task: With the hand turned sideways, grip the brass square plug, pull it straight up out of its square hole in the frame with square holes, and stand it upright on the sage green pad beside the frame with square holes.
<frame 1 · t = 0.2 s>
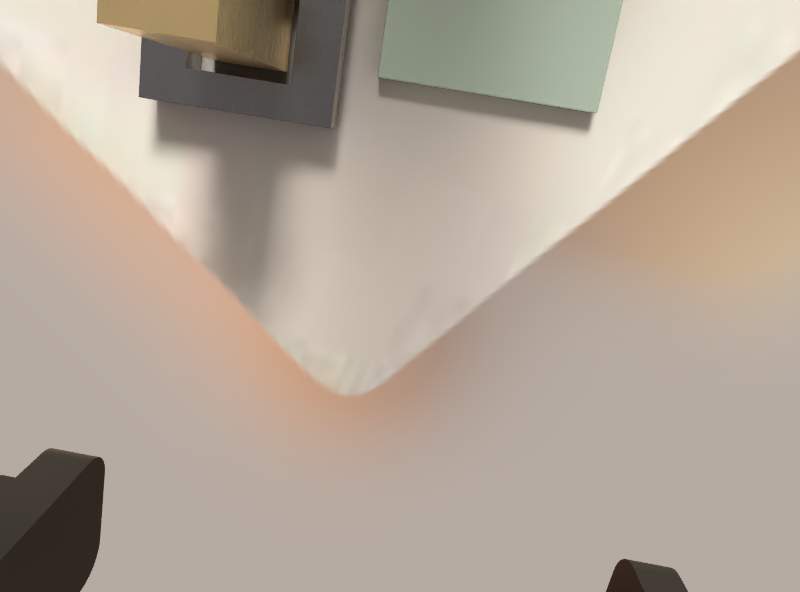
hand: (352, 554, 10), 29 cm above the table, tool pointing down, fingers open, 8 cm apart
plug: (254, 27, 35), resting in frame with square holes
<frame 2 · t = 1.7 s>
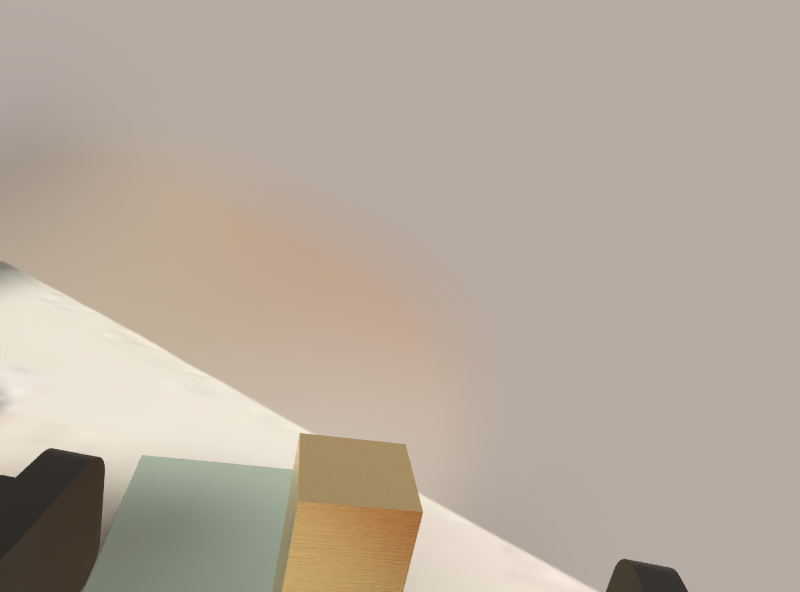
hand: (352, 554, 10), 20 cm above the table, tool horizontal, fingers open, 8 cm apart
pad: (223, 537, 38), on the table
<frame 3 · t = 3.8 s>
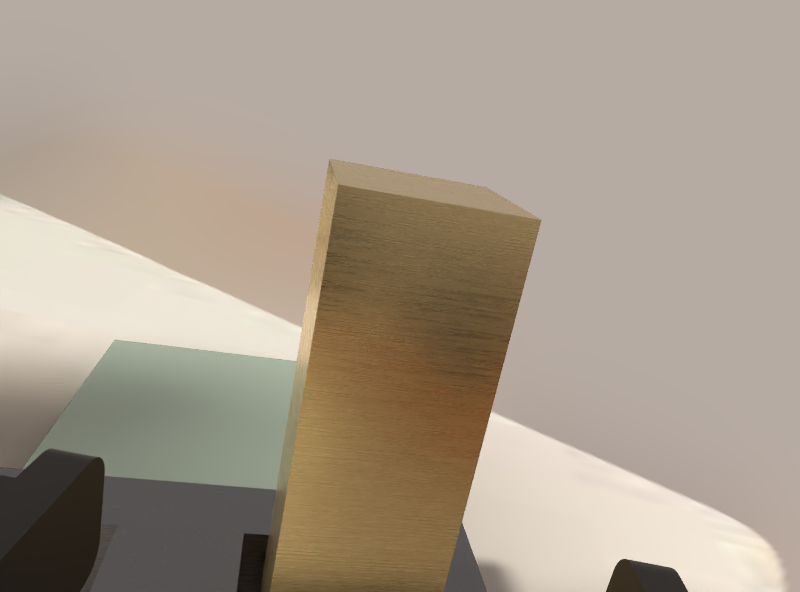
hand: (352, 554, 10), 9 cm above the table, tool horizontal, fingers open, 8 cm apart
pad: (216, 426, 29), on the table
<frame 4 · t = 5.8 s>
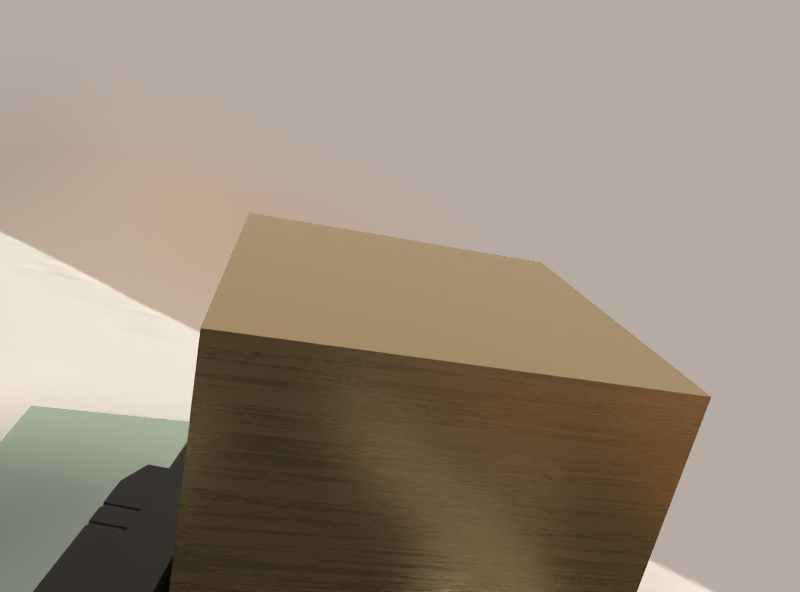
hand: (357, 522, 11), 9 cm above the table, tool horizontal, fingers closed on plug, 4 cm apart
pad: (149, 534, 22), on the table
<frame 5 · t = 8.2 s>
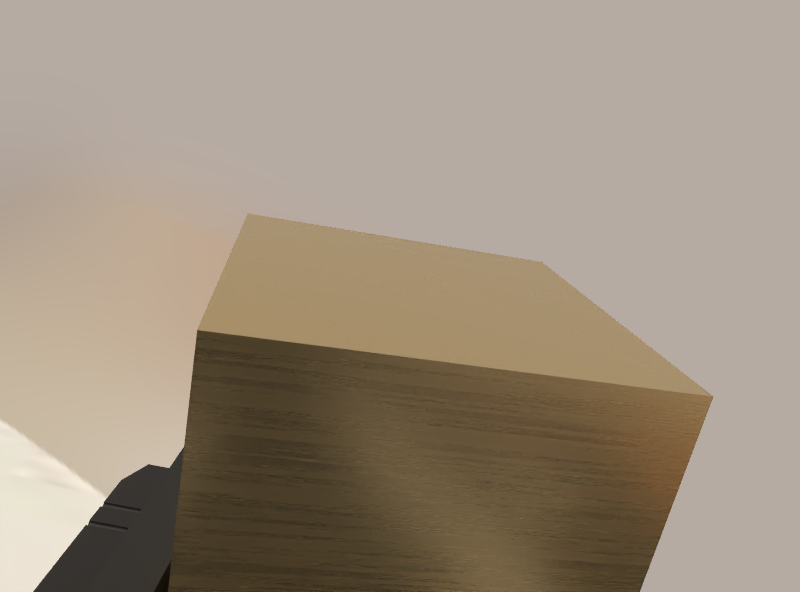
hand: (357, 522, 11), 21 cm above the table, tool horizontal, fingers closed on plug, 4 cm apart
when the fingers open (11 cm above the table, at t = 10.9 s): plug drops 1 cm, resting on pad.
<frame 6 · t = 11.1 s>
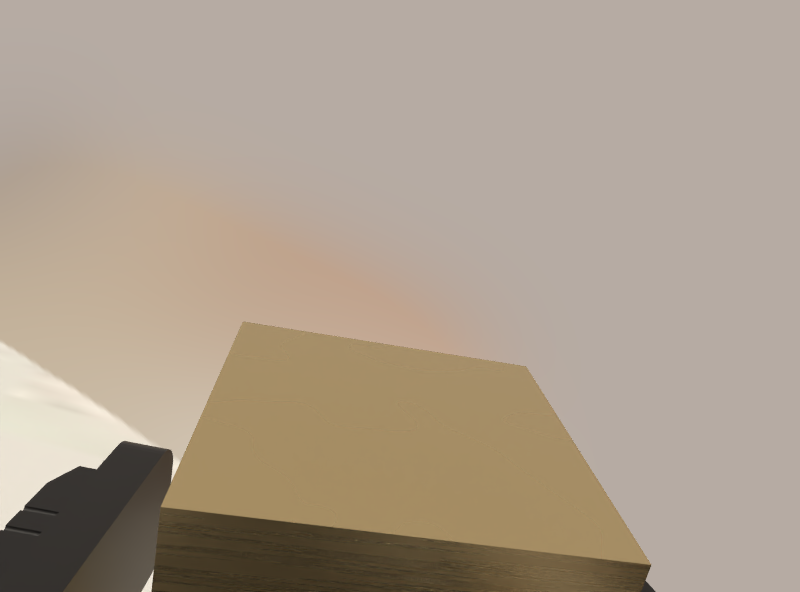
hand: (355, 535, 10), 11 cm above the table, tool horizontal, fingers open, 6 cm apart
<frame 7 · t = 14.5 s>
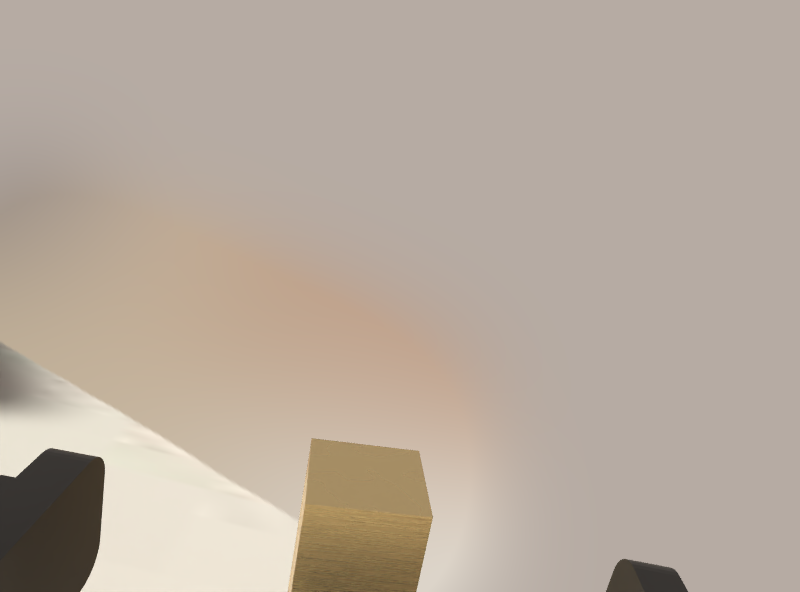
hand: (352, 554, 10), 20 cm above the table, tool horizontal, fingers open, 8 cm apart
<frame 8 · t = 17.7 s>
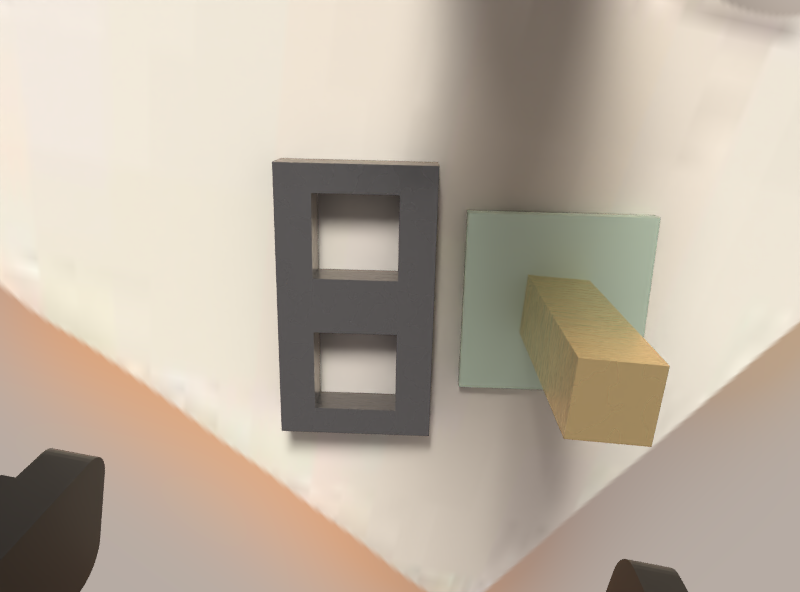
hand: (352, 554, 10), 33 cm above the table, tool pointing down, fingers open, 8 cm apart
pad: (552, 301, 43), on the table
plug: (554, 306, 42), point 1 cm above the table, touching pad
frame with square holes: (358, 295, 43), on the table
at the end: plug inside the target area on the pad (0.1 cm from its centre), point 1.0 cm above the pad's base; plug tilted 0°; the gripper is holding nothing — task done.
